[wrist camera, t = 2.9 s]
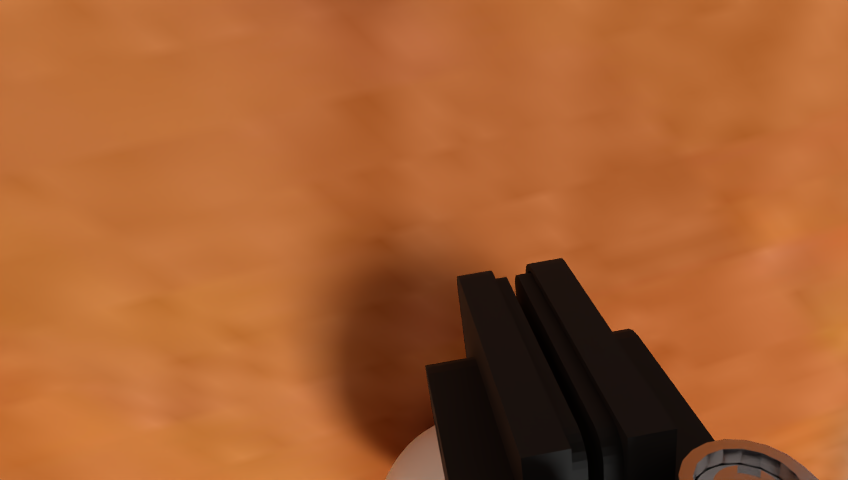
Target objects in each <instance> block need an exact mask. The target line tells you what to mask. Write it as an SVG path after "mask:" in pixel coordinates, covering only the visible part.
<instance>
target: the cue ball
mask: <svg viewBox="0 0 848 480" xmlns="http://www.w3.org/2000/svg"><path fill="white" fill-rule="evenodd" d="M386 480H445V477H444V472H443V467H442V462H441V456H440V451H439V446H438V440H437V435H436V429H435V425H434V426H432V427H431V428H429V429H427V430H426V431H424V432H423V433H421V434H420V435H419V436H417V437H416V438H415V439H414V440H413V441H412V442H411V443H410V444H409V445H408V446H407V447H406V448H405V449H404V450H403V451H402V453H401V454H400V455H399V456H398V458H397V459H396V461H395V462H394V464H393V466H392V467H391V469H390V471H389V473H388V475H387V477H386Z"/></svg>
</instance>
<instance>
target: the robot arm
mask: <svg viewBox="0 0 848 480" xmlns="http://www.w3.org/2000/svg"><path fill="white" fill-rule="evenodd" d="M457 286H458V294H459V302H460V310H461V318H462V326H463V333H464V341H465V349H466V357H467V358H465V359H459V360H454V361H448V362H443V363H437V364H432V365H426V366H425V367H426V375H427V381H428V387H429V393H430V400H431V406H432V412H433V418H434V423H435V429H436V435H437V440H438V446H439V451H440V456H441V462H442V467H443V472H444V477H445V480H818V479H817V478H816V477H815V476H814V475H813V474H812V473H811V472H809V471H808V470H807V469H806V468H805V467H804V466H802V465H801V464H800V463H798V462H797V461H796V460H794V459H793V458H791V457H790V456H789V455H787V454H785V453H783V452H781V451H779V450H776V449H774V448H772V447H770V446H768V445H764V444H760V443H756V442H752V441H747V440H732V439H723V440H718V441H715V440H714V439H713V438H712V436H711V435H710V434H709V432H708V431H707V430H706V428H705V427H704V425H703V424H702V423H701V421H700V420H699V419H698V417H697V416H696V414H695V413H694V412H693V410H692V409H691V408H690V406H689V405H688V403H687V402H686V401H685V399H684V398H683V397H682V395H681V394H680V392H679V391H678V390H677V388H676V387H675V386H674V384H673V383H672V381H671V380H670V379H669V377H668V376H667V375H666V373H665V372H664V371H663V369H662V368H661V366H660V365H659V364H658V362H657V361H656V360H655V358H654V357H653V355H652V354H651V353H650V351H649V350H648V349H647V347H646V346H645V344H644V343H643V342H642V340H641V339H640V338H639V336H638V335H637V334H636V333H635V332H634V331H633V330H630V329H625V330H619V331H614V332H612V331H611V329H610V328H609V326H608V325H607V323H606V322H605V320H604V319H603V317H602V316H601V314H600V313H599V311H598V310H597V309H596V307H595V306H594V304H593V303H592V301H591V300H590V298H589V297H588V295H587V294H586V292H585V291H584V289H583V288H582V286H581V285H580V283H579V282H578V280H577V279H576V277H575V276H574V274H573V273H572V271H571V270H570V268H569V267H568V265H567V264H566V262H565V261H564V260H563V259H562V258H559V259H554V260H548V261H542V262H537V263H531V264H527V266H526V274H520V275H516V277H515V288H516V296H515V294H514V291H513V289H512V287H511V285H510V283H509V281H508V279H507V278H506V277H503V278H497V279H495V276H494V274H493V272H492V271H485V272H479V273H474V274H468V275H462V276H457Z"/></svg>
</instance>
